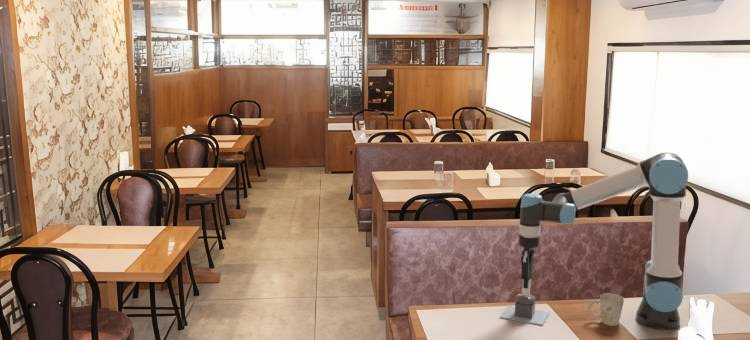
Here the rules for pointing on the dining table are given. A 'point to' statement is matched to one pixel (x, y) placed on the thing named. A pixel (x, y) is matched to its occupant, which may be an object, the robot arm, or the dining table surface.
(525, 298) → the knob
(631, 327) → the dining table surface
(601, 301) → the mug
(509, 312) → the shaft board
